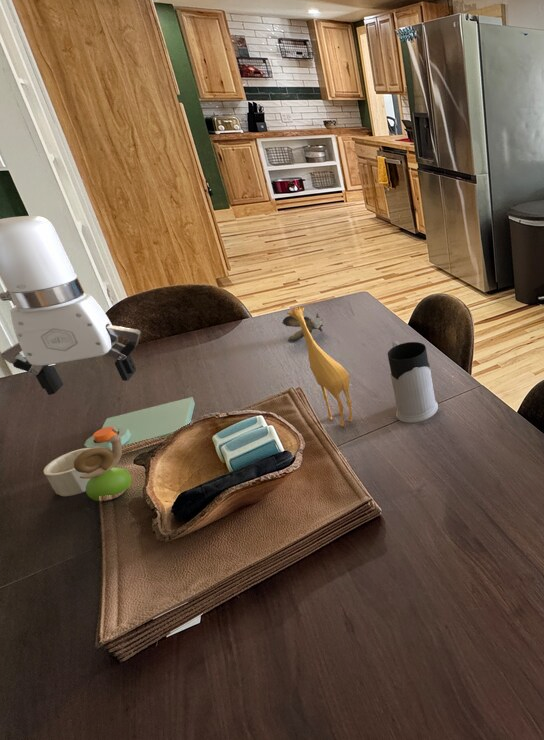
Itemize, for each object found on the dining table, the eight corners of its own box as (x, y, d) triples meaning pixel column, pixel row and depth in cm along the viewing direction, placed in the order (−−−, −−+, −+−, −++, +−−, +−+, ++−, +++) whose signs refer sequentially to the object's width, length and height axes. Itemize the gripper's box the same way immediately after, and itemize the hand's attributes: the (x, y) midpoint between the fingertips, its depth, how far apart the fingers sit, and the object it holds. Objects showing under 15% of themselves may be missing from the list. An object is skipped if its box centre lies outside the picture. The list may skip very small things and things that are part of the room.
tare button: (94, 445, 89) (90, 438, 88) (98, 436, 91) (95, 430, 90) (115, 439, 90) (112, 433, 90) (119, 430, 92) (116, 424, 92)
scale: (88, 466, 88) (80, 451, 87) (107, 426, 98) (100, 412, 97) (187, 437, 95) (181, 423, 94) (195, 403, 106) (189, 390, 104)
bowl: (50, 503, 80) (37, 480, 78) (63, 478, 85) (51, 456, 83) (103, 486, 83) (92, 465, 81) (113, 464, 89) (102, 442, 87)
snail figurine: (149, 488, 83) (122, 433, 79) (100, 513, 78) (68, 457, 73) (136, 476, 86) (110, 422, 81) (88, 500, 81) (57, 444, 76)
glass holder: (404, 428, 98) (392, 366, 92) (383, 396, 108) (371, 339, 103) (444, 411, 103) (435, 352, 98) (420, 383, 113) (411, 327, 108)
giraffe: (305, 408, 104) (275, 305, 95) (325, 398, 108) (298, 298, 98) (346, 435, 96) (318, 326, 86) (366, 424, 99) (341, 317, 90)
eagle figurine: (315, 321, 141) (280, 326, 134) (319, 306, 137) (283, 310, 130) (323, 341, 138) (287, 347, 131) (327, 326, 134) (291, 332, 127)
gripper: (-45, 313, 69) (11, 408, 76) (109, 293, 76) (148, 382, 83) (-12, 294, 76) (38, 384, 82) (128, 278, 82) (163, 362, 89)
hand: (93, 383), depth 83 cm, fingers open, 9 cm apart
